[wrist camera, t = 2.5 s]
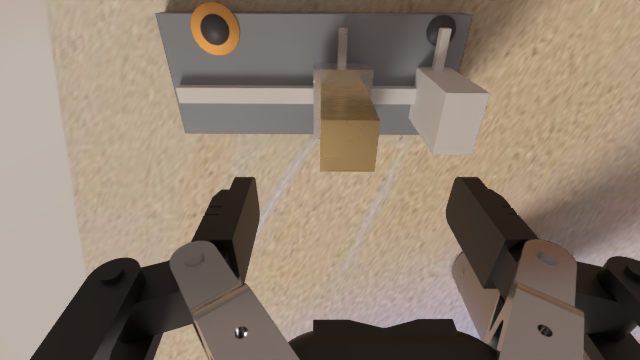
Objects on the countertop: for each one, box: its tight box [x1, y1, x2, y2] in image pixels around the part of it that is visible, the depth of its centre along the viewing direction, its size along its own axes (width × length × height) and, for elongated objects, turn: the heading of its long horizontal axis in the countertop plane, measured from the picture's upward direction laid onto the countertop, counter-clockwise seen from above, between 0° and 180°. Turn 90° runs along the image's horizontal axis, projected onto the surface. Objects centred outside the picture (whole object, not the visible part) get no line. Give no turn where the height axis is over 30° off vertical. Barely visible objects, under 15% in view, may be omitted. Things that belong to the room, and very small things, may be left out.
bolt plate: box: [155, 2, 490, 155], centre depth 21 cm, size 22×10×8 cm, turn 90°
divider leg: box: [313, 27, 380, 172], centre depth 19 cm, size 4×7×9 cm, turn 0°
